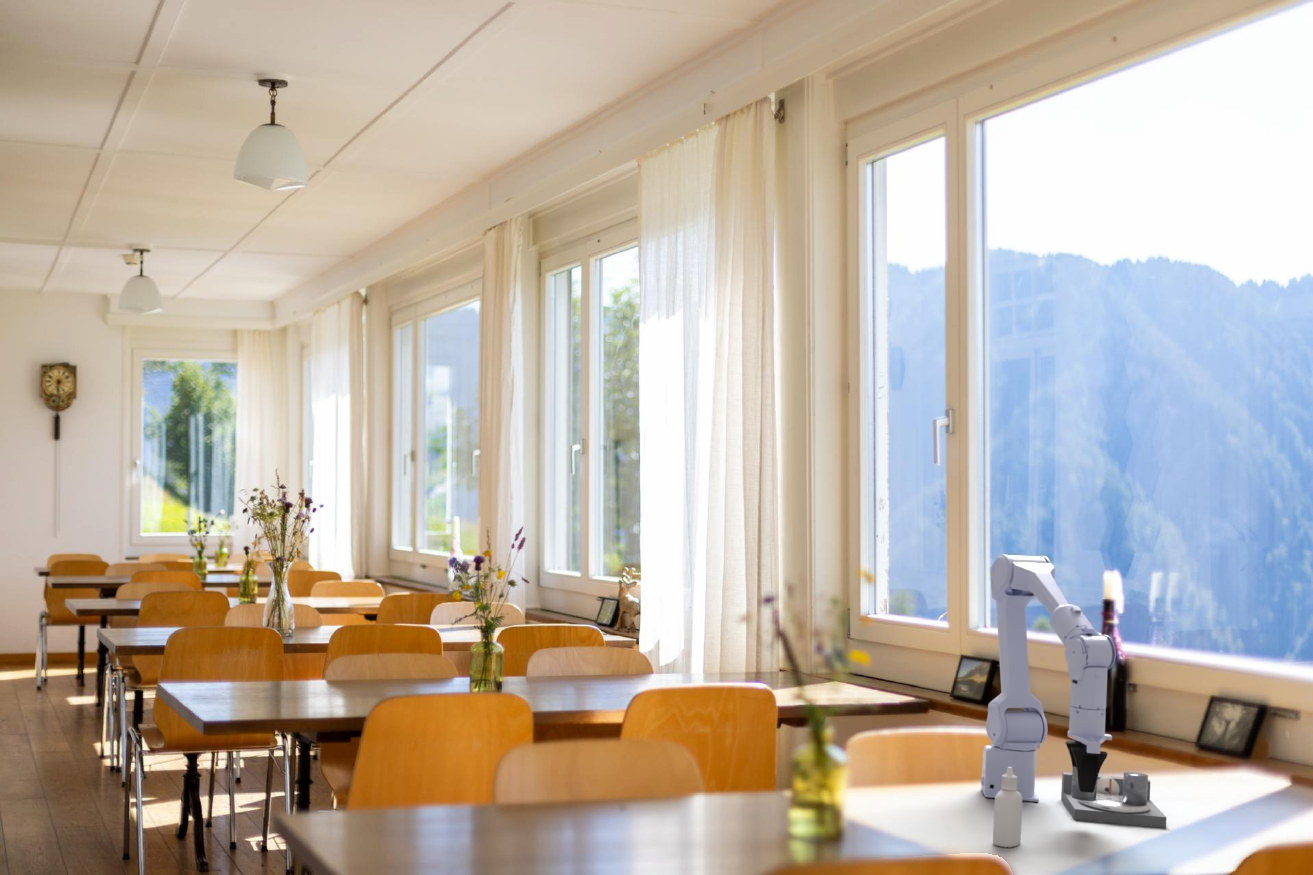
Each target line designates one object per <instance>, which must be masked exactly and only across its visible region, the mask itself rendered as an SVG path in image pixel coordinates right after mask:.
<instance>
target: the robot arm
mask: <svg viewBox="0 0 1313 875" xmlns="http://www.w3.org/2000/svg"><path fill="white" fill-rule="evenodd" d="M1055 569H1056V568H1055V566H1054V565H1053V564H1052V562H1051V560H1050V559H1049V558H1048V557H1047V556H1046V555H1039V556H1035V555H1034V556H1033V555H1032V556H1031V555H1009V554H1007V553H1006V554H1003V553H1000V554H999V555H997V556H996V557H995V560H994V561H993V563H992V565H991V567H990V571H989V573H990V589H991V598H992V599H993V600H994V601H995V602H996V603H995V605H996V607H995V608H996V621H997V624H996V625H997V639H998V656H999V673H1000V691H1001V693H1000V694H999V695H997V696H996V697H994V698H993V699H992V700H991V701H990V702H989V703H988V704H987V705H988V707H987V718H986V721H985V731H986V735H987V737H988V739H989V742H991V745H990V744H987V745H984V746H983V751H982V752H983V753H982V769H981V770H982V771H981V778H980V784H981V786H980V787H981V791H982V792H983V795H984V797H986V798H990V799H993V798H994V799H995V797H996V795H997V793H998V792H999V791H1000V790H1001V789H1002V788H1001V780H1002V775H1004V774H1006V772H1007V768H1008V767H1012V769H1013V774H1014V775H1015V776H1017V777H1018V778H1017V790H1016V791H1018V792H1019V793H1020V794H1021V795H1022V801H1026V802H1036V803H1037V802H1039V801H1040V800H1039V797H1038V795H1037V793H1036V792H1035V785H1036V783H1035V781H1036V763H1037V762H1036V760H1037V750H1040V749H1041V745H1042V744H1044V742H1045V740H1046V739H1047V736H1048V728H1049V727H1048V722H1047V719H1046V717H1045V713H1044V704H1043V703H1042V702H1041V701H1040V700H1039V699H1038V698H1036V697H1035V696H1034V695H1033V694H1032V693H1031V682H1030V681H1031V680H1030V666H1029V649H1028V648H1029V647H1028V633H1027V618H1026V608H1027V606H1028V605H1029V603H1031V602H1033V601H1035V600H1038V601H1039V602H1040V603H1041V605H1042V606H1043V608H1045V609H1046V611H1047V612H1048V614H1049V615H1051V616H1050V619H1049V624H1050V627H1051V628H1052V630H1053V632H1055V634H1056V635H1057V637H1058V639H1059V640H1060V642H1061V643H1062V644H1063V645H1064V647H1065V648H1066V649H1064V657H1065V661H1066V663H1067V668H1068V670H1067V674H1068V678H1069V679H1070V680H1071V682H1070V695H1069V696H1070V697H1069V698H1070V699H1069V700H1070V702H1069V703H1070V704H1069V718H1068V719H1069V721H1068V724H1069V725H1068V730H1067V737H1068V738H1069V739H1071V740H1067V741H1065V746H1066V748H1067V750H1068V753H1069V756H1070V760H1071V765H1072V768H1073V766H1075V765H1076V766H1077V774H1078V784H1079V789H1080V791H1081V792H1091V793H1093V792H1094V789H1095V786H1096V782H1097V778H1098V775H1100V771H1101V768H1102V766H1103V764H1104V763H1105V761H1106V759H1107V757H1108V754H1109V753H1108V752H1107V751H1103V750H1101V748H1102V744H1103V743H1104V742H1105V741H1113V736H1112V735H1111V734H1110V733H1106V715H1107V714H1106V708H1107V692H1108V690H1107V688H1108V686H1107V685H1108V670H1110V669H1112V667H1113V666H1114V665H1115V662H1116V659H1117V650H1116V646H1115V644H1114V642H1113V640H1112V638H1111V636H1109V635H1108V634H1102V632H1100V631H1099V632H1098V631H1096V629H1095V628H1094V627H1093V625H1092V623H1091V622H1090V621H1089V619H1088V618H1087V616H1086V615H1085V614H1084V613H1083V611H1082V608H1081V607H1080V606H1077V605H1075V604H1069V603H1068V600H1067V599H1066V597H1065V596H1064V594H1063V593H1062V591H1061V589H1060V587H1059V585H1058V584H1057V582H1056V580H1055V576H1056V575H1055V574H1056V571H1055ZM1007 709H1022V710H1007ZM1072 740H1074V741H1072Z"/></svg>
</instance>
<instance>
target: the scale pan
mask: <svg viewBox="0 0 1313 875" xmlns="http://www.w3.org/2000/svg"><path fill="white" fill-rule="evenodd" d="M1078 802H1079V803H1080V804H1082V805H1085V806H1087V807H1090V808H1094V809H1098V810H1103V811H1109V812H1116V813H1131V814H1135V813H1145V812H1148V811H1150V804H1149V803H1147V805H1146V806H1135V805H1129V804H1126V803H1123V795H1117V794H1108V793H1097V799H1096V800H1095V801H1083V800H1078Z"/></svg>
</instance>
